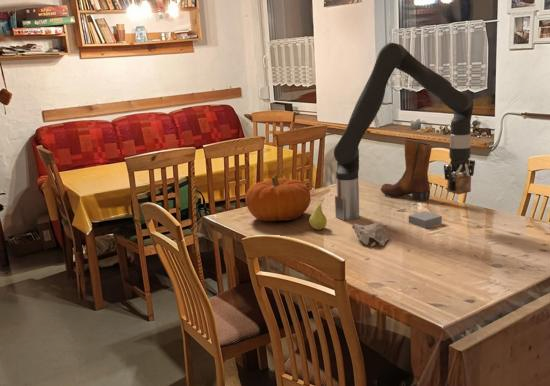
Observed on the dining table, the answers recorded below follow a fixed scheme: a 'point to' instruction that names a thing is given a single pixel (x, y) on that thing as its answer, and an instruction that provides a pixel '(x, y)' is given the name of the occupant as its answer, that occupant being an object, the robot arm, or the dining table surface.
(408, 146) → the boot
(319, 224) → the fruit
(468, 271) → the dining table surface
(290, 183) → the pumpkin
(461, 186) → the walnut cube
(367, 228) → the stone
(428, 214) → the slate block
